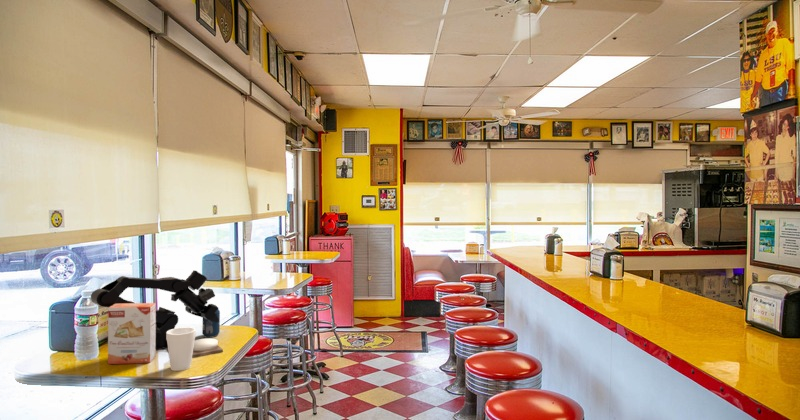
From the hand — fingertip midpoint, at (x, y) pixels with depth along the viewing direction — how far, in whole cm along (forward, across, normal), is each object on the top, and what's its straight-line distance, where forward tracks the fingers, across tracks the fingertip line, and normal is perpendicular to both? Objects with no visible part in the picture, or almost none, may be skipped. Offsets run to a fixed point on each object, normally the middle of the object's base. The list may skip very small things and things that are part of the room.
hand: (214, 319), depth 196 cm
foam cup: (-15, -29, +24) cm, 40 cm away
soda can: (+4, 0, +6) cm, 7 cm away
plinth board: (-6, -15, +16) cm, 22 cm away
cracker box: (-21, -10, +30) cm, 38 cm away
